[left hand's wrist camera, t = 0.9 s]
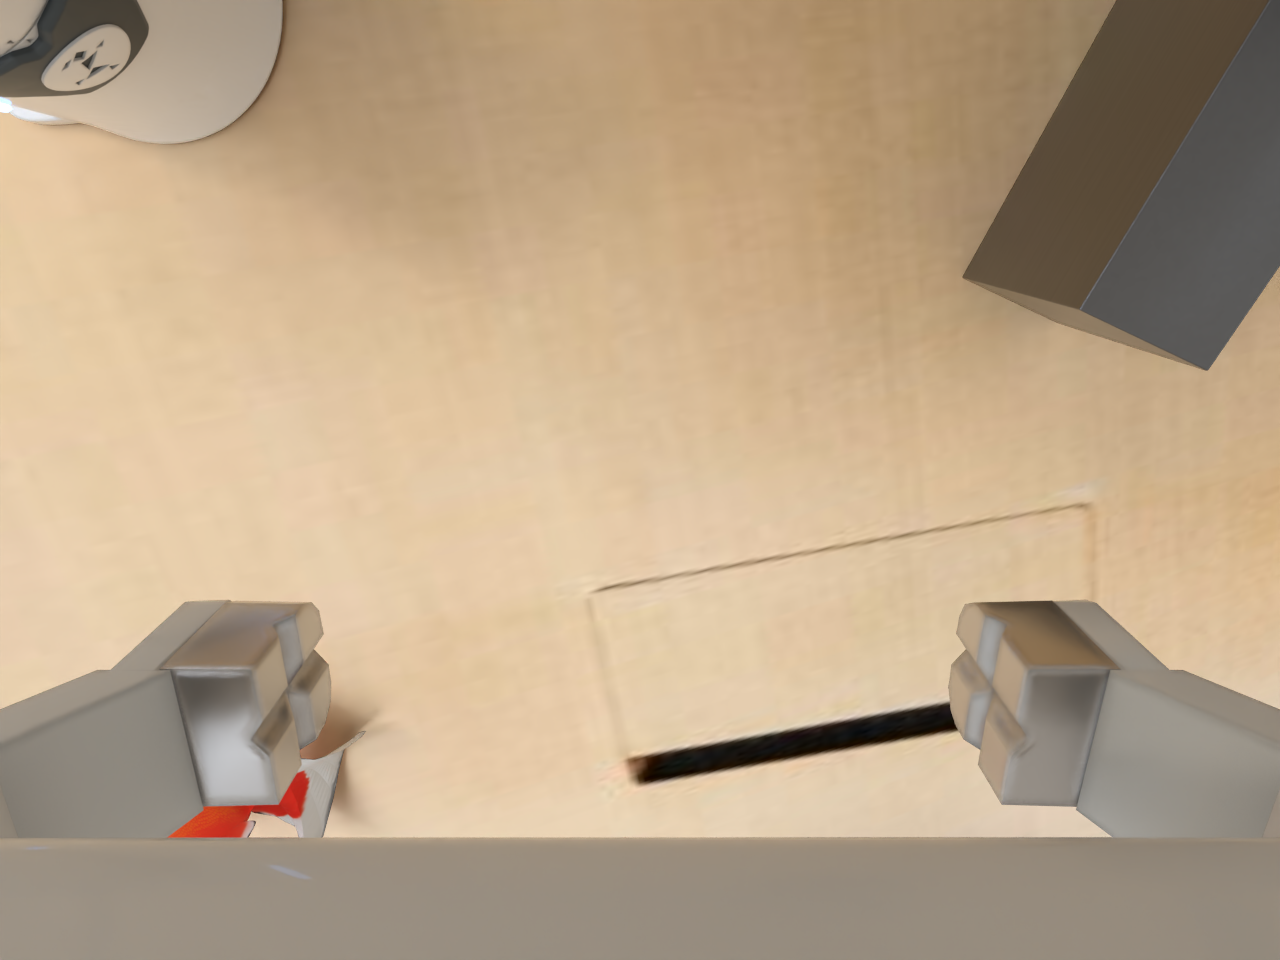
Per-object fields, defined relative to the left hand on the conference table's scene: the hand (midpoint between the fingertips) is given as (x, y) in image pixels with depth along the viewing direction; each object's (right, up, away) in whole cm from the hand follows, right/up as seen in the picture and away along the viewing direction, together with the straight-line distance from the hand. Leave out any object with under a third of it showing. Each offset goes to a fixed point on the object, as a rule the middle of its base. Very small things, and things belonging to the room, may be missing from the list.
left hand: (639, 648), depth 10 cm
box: (+26, +23, +31) cm, 47 cm away
